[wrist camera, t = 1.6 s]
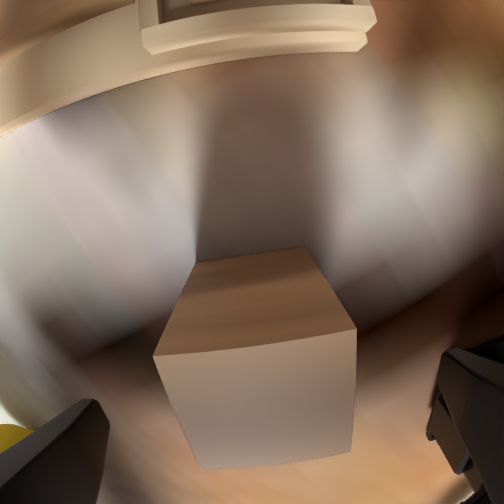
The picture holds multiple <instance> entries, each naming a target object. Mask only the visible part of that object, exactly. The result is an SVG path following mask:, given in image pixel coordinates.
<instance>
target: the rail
mask: <svg viewBox="0 0 504 504" xmlns="http://www.w3.org/2000/svg"><path fill="white" fill-rule="evenodd" d="M376 22H377V19H376V16H375V12H374V9H373V6H371V4H370V1H369V0H0V137H1V136H2V135H4V134H6V133H8V132H10V131H12V130H14V129H16V128H18V127H20V126H22V125H24V124H26V123H28V122H30V121H32V120H35V119H37V118H39V117H41V116H43V115H46V114H48V113H50V112H52V111H55V110H57V109H60V108H62V107H64V106H67V105H69V104H72V103H74V102H77V101H80V100H82V99H85V98H88V97H90V96H93V95H96V94H99V93H102V92H105V91H108V90H111V89H114V88H117V87H120V86H123V85H127V84H130V83H133V82H137V81H140V80H144V79H147V78H151V77H155V76H159V75H163V74H167V73H171V72H175V71H180V70H184V69H189V68H193V67H198V66H204V65H209V64H214V63H220V62H226V61H233V60H240V59H247V58H255V57H263V56H273V55H284V54H297V53H317V52H357V51H358V50H359V49H361V48H362V47H363V46H364V45H365V44H366V43H367V42H368V41H367V37H366V33H365V32H367V31H368V30H369V29H370V28H371V27H372V26H373V25H374V24H375V23H376Z"/></svg>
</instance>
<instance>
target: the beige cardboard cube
mask: <svg viewBox="0 0 504 504" xmlns="http://www.w3.org/2000/svg"><path fill="white" fill-rule="evenodd" d="M356 348H357V328H356V327H355V325H354V323H353V322H352V320H351V319H350V317H349V315H348V314H347V312H346V310H345V309H344V307H343V306H342V304H341V302H340V301H339V299H338V298H337V296H336V294H335V293H334V291H333V290H332V288H331V287H330V285H329V283H328V282H327V280H326V279H325V277H324V276H323V274H322V272H321V271H320V269H319V268H318V266H317V265H316V263H315V262H314V260H313V258H312V257H311V255H310V254H309V252H308V251H307V249H306V248H305V246H303V247H296V248H290V249H283V250H277V251H270V252H263V253H257V254H250V255H243V256H237V257H230V258H223V259H217V260H210V261H203V262H197V263H195V265H194V267H193V269H192V271H191V273H190V276H189V278H188V280H187V282H186V284H185V286H184V288H183V290H182V293H181V295H180V297H179V299H178V301H177V303H176V305H175V308H174V310H173V312H172V314H171V316H170V319H169V321H168V323H167V325H166V327H165V330H164V332H163V334H162V336H161V339H160V341H159V343H158V345H157V348H156V350H155V352H154V354H153V358H154V361H155V364H156V367H157V369H158V372H159V375H160V377H161V380H162V383H163V385H164V388H165V390H166V393H167V395H168V398H169V400H170V403H171V405H172V407H173V410H174V412H175V415H176V417H177V419H178V421H179V424H180V426H181V428H182V431H183V433H184V435H185V437H186V439H187V442H188V444H189V446H190V448H191V450H192V452H193V454H194V456H195V458H196V460H197V463H198V465H199V467H200V469H201V470H225V469H241V468H253V467H264V466H273V465H281V464H288V463H295V462H301V461H307V460H313V459H318V458H324V457H329V456H333V455H338V454H343V453H347V452H351V443H352V431H353V418H354V403H355V383H356Z"/></svg>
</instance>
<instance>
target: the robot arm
mask: <svg viewBox="0 0 504 504" xmlns="http://www.w3.org/2000/svg"><path fill="white" fill-rule="evenodd" d="M437 381H438V385H439V390H438V394H437V398H436V401H435V405H434V409H433V412H432V416H431V419H430V422H429V426H428V429H427V432H426V436H427V438H428V440H429V441H433V440H435V439H436V441H437V443H438V445H439V446H440V448H441V450H442V452H443V453H444V455H445V457H446V459H447V460H448V462H449V464H450V466H451V468H452V469H453V471H454V473H456V474H457V475H460V474H462V473H464V475H465V477H466V479H467V480H468V482H469V484H470V486H471V488H472V489H473V491H474V494H473V495H472V496H470V497H469V498H468V499H467V500H466V501H464V502H461V503H460V504H504V336H502V337H500V338H497V339H495V340H493V341H490V342H488V343H485V344H483V345H480V346H478V347H475V348H473V349H470V350H467V351H465V350H462V349H459V348H453V349H450V350H447V351H445V352H443V354H442V356H441V361H440V366H439V371H438V376H437ZM109 431H110V424H109V420H108V419H107V417H106V415H105V413H104V411H103V410H102V408H101V406H100V404H99V402H98V401H97V400H94V399H82V400H80V401H79V402H77V403H76V404H74V405H73V406H71V407H70V408H68V409H67V410H65V411H64V412H62V413H61V414H59V415H58V416H56V417H55V418H53V419H52V420H50V421H49V422H47V423H46V424H44V425H43V426H41V427H40V428H38V429H37V430H35V431H34V432H32V433H31V434H29V435H28V436H26V437H25V438H23V439H22V440H20V441H19V442H17V443H16V444H14V445H13V446H11V447H9V448H8V449H6V450H5V451H3V452H2V453H0V504H96V502H97V497H98V493H99V489H100V485H101V481H102V476H103V471H104V465H105V457H106V450H107V444H108V437H109Z"/></svg>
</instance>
